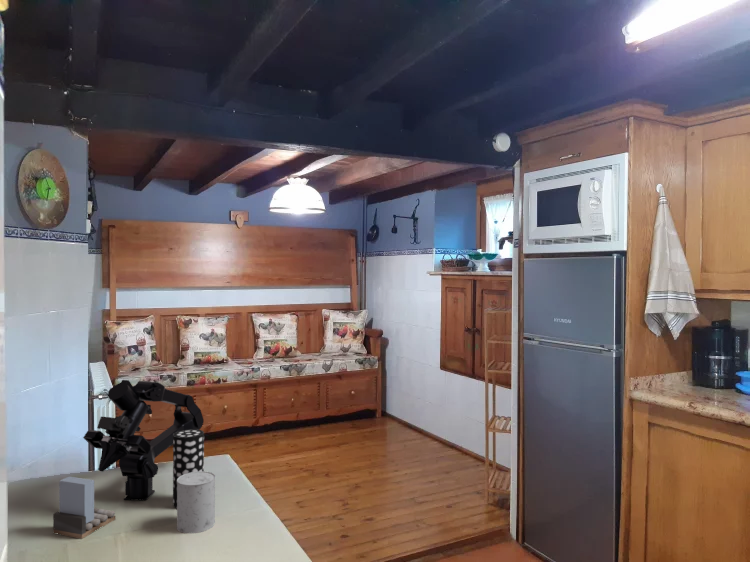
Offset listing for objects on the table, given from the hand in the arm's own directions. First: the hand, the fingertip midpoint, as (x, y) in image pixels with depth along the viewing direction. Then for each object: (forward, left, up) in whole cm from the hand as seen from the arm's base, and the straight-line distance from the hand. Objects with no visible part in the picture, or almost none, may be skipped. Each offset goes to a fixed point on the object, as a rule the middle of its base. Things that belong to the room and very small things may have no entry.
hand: (100, 470), depth 145 cm
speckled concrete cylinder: (-27, +3, -13) cm, 30 cm away
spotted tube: (-20, -10, -13) cm, 26 cm away
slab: (+2, +7, -10) cm, 12 cm away
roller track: (+1, +5, -13) cm, 14 cm away
